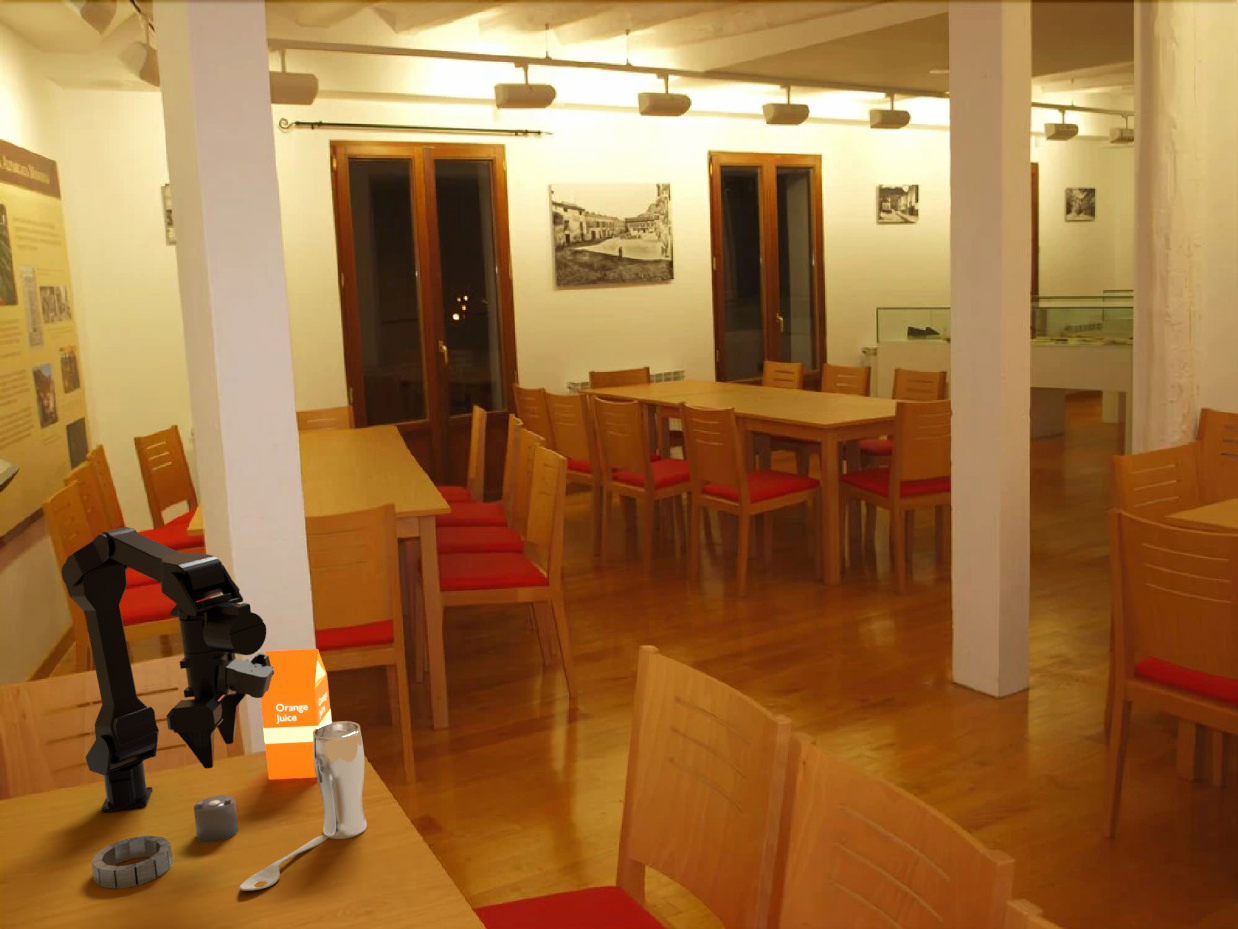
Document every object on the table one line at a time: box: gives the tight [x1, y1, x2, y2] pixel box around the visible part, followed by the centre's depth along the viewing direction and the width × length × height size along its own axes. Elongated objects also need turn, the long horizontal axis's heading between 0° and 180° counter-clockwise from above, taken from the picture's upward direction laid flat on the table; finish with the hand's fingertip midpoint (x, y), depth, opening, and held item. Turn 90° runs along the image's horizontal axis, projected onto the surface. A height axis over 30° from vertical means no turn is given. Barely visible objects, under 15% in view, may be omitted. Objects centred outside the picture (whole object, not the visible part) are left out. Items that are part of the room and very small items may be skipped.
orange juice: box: [260, 648, 333, 780], centre depth 187 cm, size 8×9×20 cm
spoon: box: [238, 834, 328, 892], centre depth 157 cm, size 4×21×2 cm, turn 159°
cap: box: [193, 795, 239, 843], centre depth 166 cm, size 6×6×5 cm
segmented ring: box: [91, 835, 173, 890], centre depth 156 cm, size 10×10×2 cm
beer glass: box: [313, 720, 368, 840], centre depth 164 cm, size 7×7×15 cm
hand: (219, 755), depth 163 cm, fingers open, 9 cm apart
